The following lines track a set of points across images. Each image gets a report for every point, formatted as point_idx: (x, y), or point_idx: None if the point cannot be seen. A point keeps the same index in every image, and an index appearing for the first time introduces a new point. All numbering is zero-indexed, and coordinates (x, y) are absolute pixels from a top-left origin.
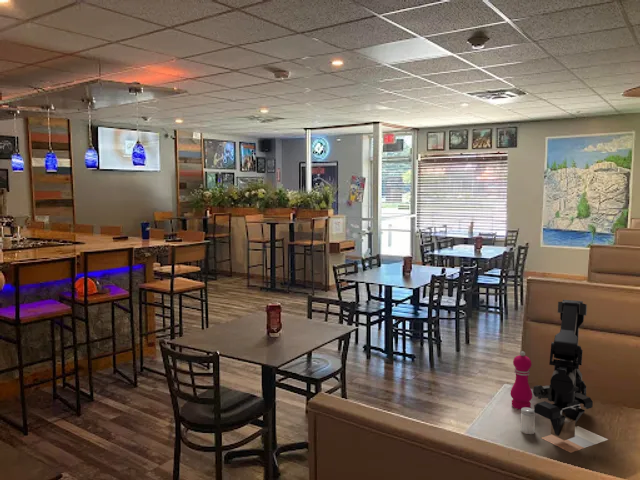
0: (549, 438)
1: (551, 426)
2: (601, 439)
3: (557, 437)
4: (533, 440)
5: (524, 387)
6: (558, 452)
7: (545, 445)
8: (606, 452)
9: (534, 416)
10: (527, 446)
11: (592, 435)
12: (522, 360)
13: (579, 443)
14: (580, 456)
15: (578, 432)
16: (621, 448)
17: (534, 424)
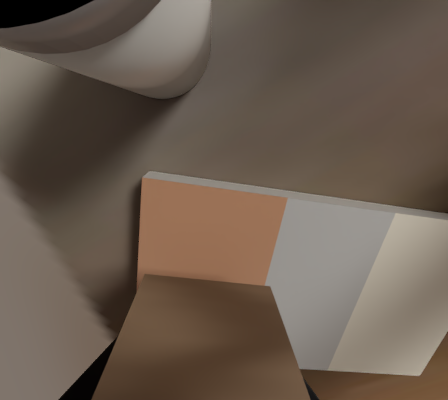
0: (186, 217)
1: (119, 336)
2: (398, 363)
3: (245, 239)
4: (123, 126)
5: None
6: (127, 290)
7: (134, 212)
8: (311, 382)
9: (96, 59)
10: (8, 151)
11: (420, 325)
12: None
13: None
14: None
15: (412, 272)
16: (390, 392)
17: (155, 82)
